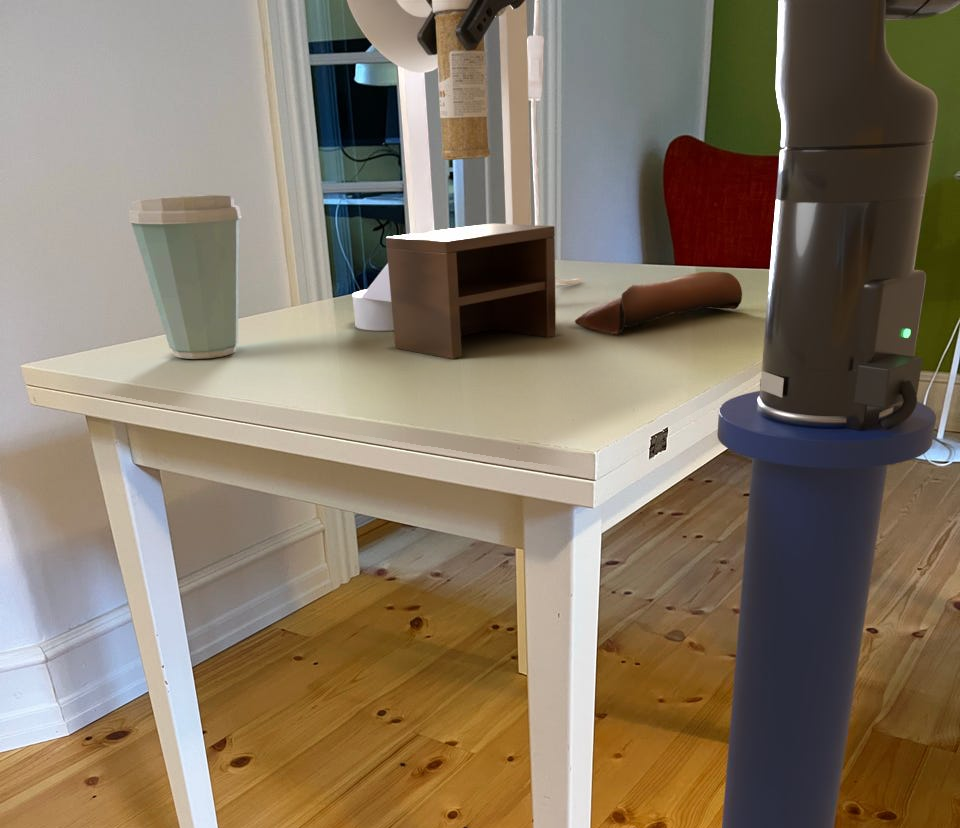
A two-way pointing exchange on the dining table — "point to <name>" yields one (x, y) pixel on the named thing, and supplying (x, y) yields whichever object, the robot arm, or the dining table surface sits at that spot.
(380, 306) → the wedge on round base
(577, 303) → the dining table surface
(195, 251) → the disposable coffee cup
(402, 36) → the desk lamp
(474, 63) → the sprinkles bottle
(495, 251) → the shelf
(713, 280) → the sunglasses case
